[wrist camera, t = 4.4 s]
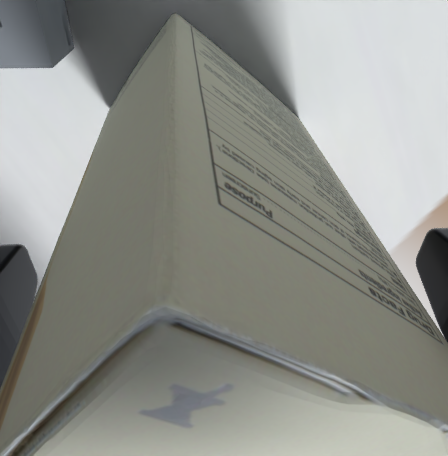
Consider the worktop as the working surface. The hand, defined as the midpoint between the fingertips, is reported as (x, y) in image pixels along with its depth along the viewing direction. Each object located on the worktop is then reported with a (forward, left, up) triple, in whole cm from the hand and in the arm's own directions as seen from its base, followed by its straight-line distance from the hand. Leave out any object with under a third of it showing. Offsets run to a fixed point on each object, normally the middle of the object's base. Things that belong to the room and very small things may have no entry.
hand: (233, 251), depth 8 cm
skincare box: (0, 0, -8) cm, 8 cm away
